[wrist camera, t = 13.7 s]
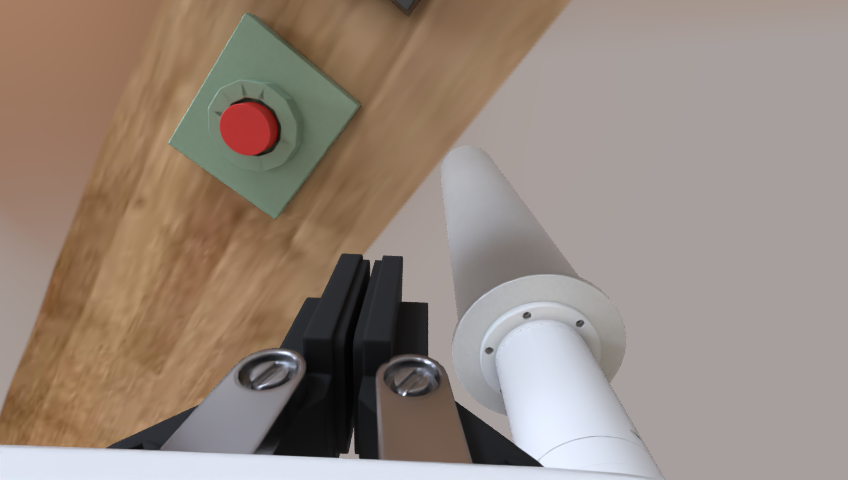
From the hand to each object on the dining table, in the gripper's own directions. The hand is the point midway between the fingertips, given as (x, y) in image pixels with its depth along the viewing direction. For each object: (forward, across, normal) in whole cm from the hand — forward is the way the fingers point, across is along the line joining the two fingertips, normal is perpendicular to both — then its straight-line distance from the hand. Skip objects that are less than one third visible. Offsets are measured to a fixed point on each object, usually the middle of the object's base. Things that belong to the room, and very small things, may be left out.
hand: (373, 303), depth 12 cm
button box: (+25, +12, -2) cm, 28 cm away
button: (+22, +12, -2) cm, 25 cm away
